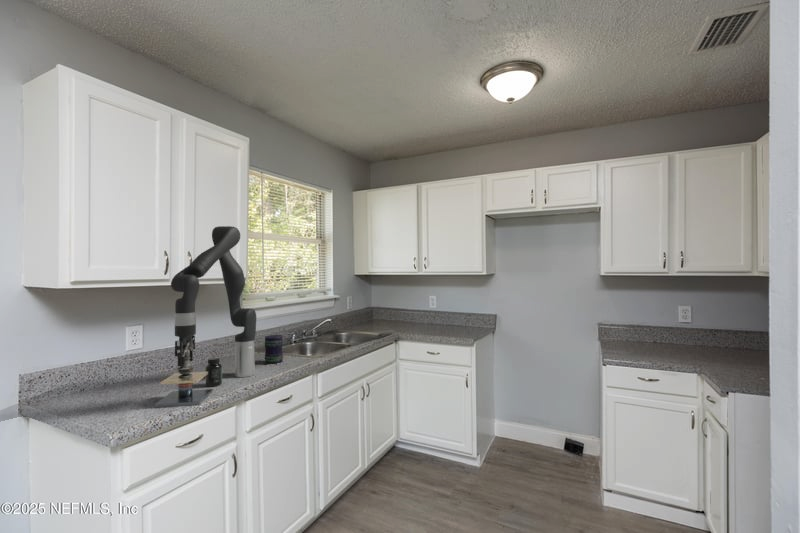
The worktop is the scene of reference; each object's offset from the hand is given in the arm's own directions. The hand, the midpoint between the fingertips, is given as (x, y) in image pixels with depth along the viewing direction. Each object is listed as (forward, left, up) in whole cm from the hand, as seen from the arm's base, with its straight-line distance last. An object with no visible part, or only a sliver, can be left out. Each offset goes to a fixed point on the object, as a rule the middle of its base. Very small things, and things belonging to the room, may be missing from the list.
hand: (185, 363), depth 154 cm
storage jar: (-58, +25, -15) cm, 65 cm away
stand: (0, 0, -14) cm, 14 cm away
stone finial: (0, 0, -5) cm, 5 cm away
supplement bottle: (-19, +5, -15) cm, 25 cm away
